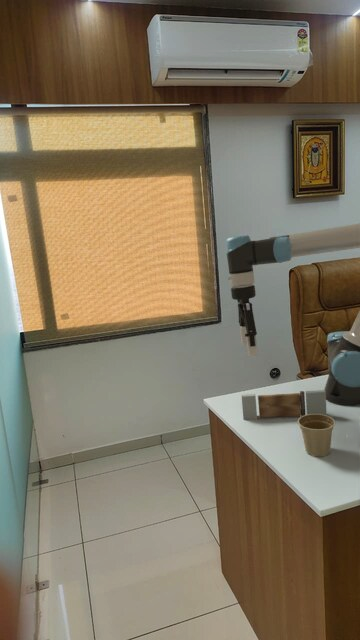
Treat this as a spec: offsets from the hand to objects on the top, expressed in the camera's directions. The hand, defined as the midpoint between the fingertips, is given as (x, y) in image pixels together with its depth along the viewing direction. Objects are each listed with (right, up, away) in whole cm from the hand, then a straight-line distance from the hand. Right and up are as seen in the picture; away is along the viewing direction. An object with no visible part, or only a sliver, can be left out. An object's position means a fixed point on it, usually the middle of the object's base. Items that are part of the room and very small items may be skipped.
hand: (249, 350), depth 134 cm
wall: (+11, -21, -1) cm, 24 cm away
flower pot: (+14, -25, -24) cm, 38 cm away
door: (+10, -21, -2) cm, 24 cm away
